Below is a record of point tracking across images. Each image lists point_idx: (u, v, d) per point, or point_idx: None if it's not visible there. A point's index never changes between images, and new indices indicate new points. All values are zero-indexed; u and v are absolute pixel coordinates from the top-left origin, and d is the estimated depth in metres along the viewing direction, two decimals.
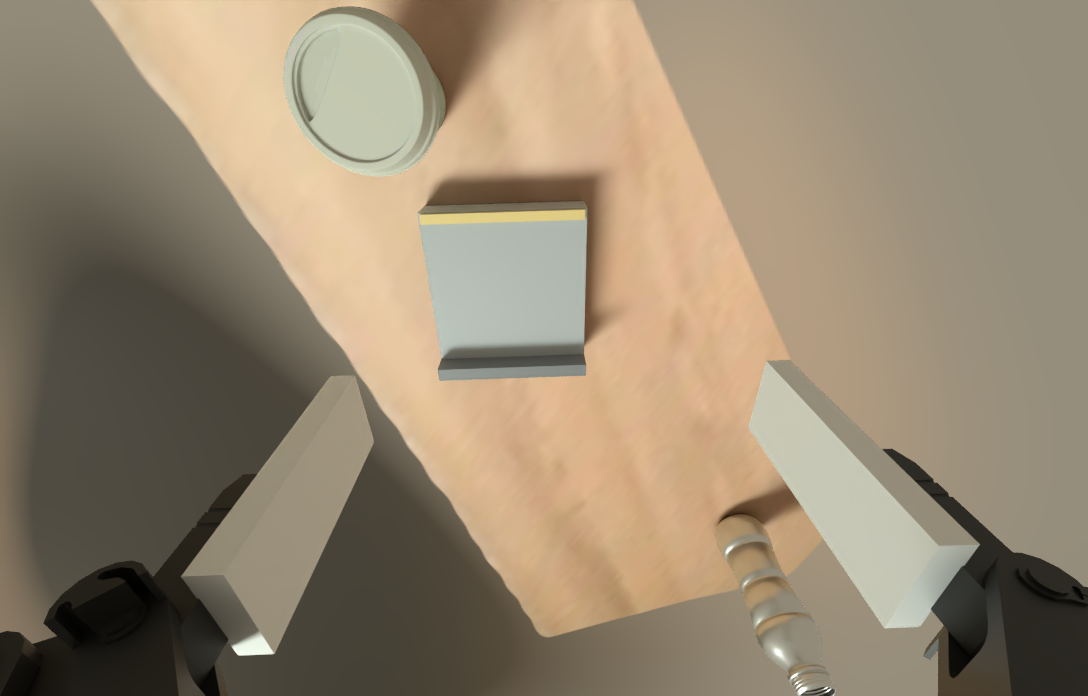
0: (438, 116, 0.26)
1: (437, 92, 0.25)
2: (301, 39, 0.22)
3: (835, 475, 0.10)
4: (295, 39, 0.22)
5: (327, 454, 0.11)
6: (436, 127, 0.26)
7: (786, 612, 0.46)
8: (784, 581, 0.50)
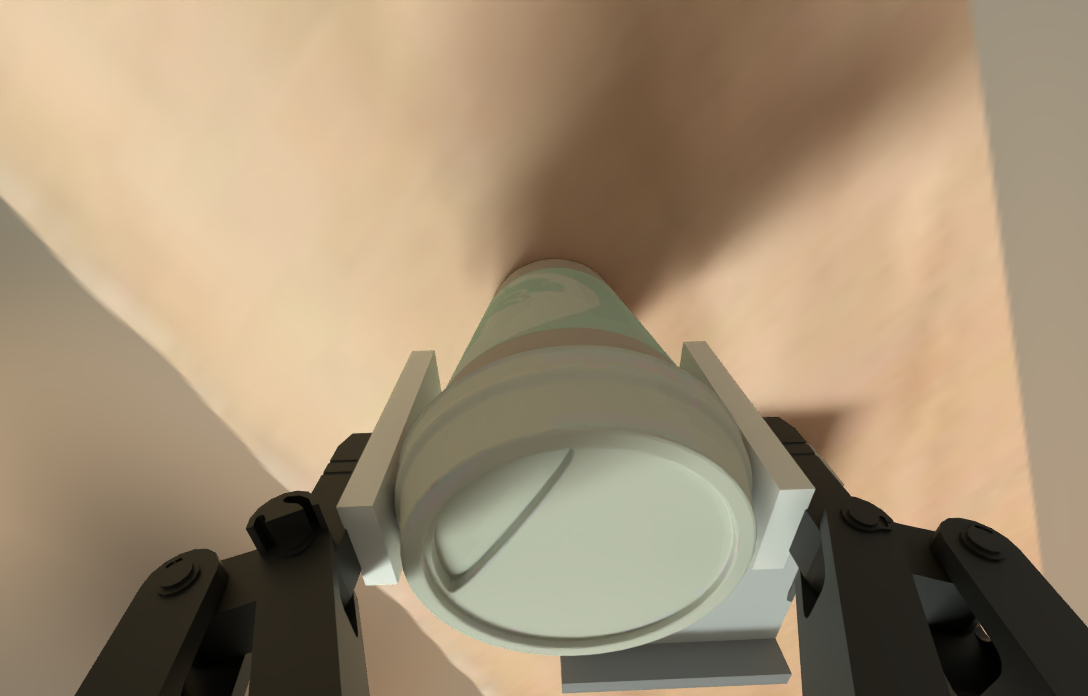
0: None
1: None
2: (464, 478, 0.08)
3: None
4: (447, 478, 0.08)
5: None
6: None
7: None
8: None
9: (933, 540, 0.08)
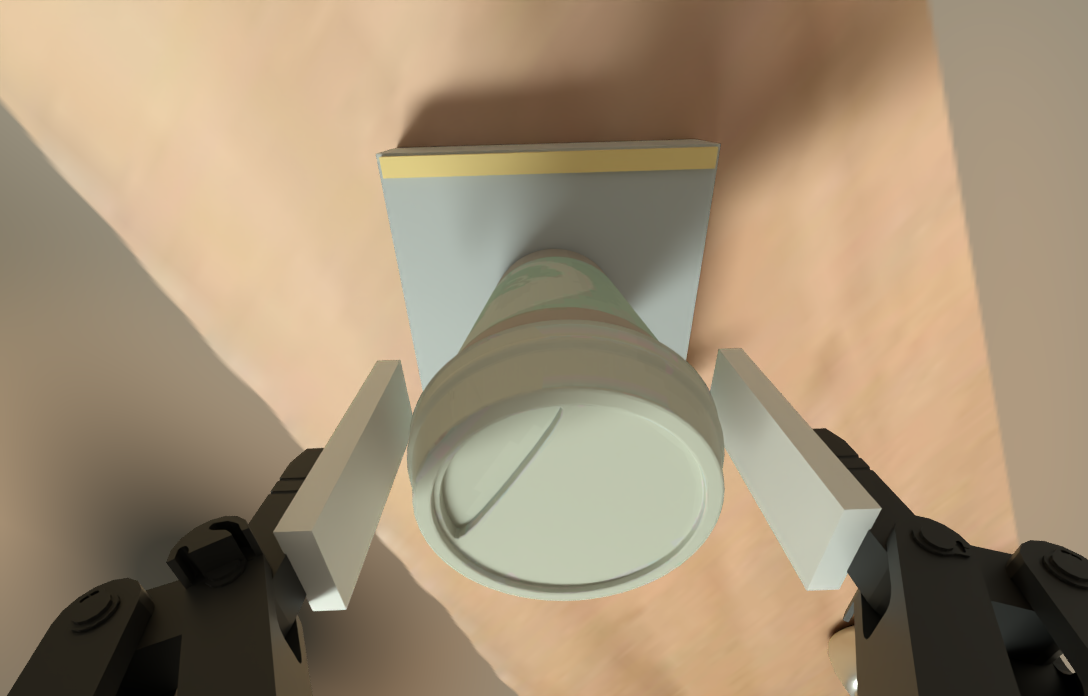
0: None
1: None
2: (468, 431, 0.09)
3: (770, 452, 0.11)
4: (454, 431, 0.09)
5: (381, 431, 0.12)
6: None
7: None
8: None
9: (1011, 561, 0.08)
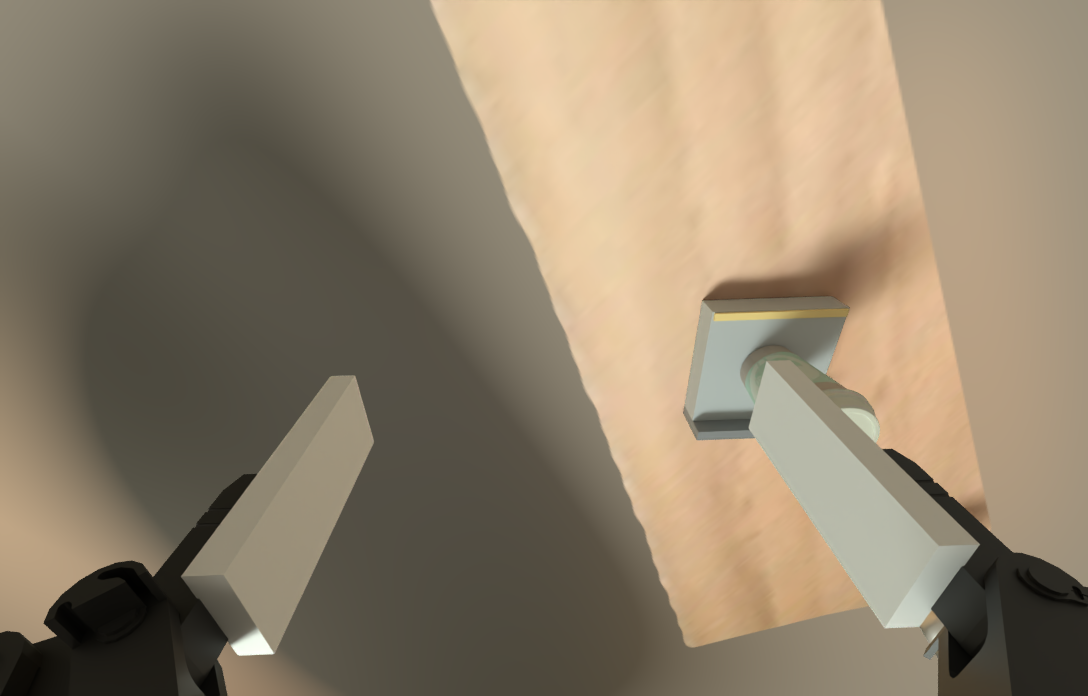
0: None
1: None
2: None
3: (835, 475, 0.10)
4: None
5: (327, 454, 0.11)
6: None
7: None
8: None
9: None
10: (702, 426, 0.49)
